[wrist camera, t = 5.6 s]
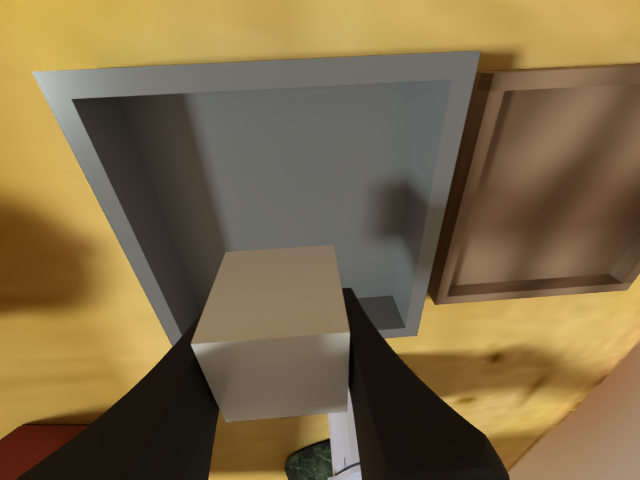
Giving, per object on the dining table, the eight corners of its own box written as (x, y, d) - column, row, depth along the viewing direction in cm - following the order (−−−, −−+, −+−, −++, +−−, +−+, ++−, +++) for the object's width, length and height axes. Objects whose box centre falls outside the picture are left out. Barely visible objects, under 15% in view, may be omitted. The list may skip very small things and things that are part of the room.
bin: (440, 52, 15) (481, 50, 12) (400, 298, 25) (416, 335, 21) (93, 68, 14) (31, 71, 11) (193, 313, 24) (176, 354, 21)
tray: (748, 58, 16) (800, 57, 14) (604, 274, 25) (627, 290, 23) (473, 71, 16) (494, 73, 14) (425, 287, 24) (435, 304, 23)
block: (333, 245, 12) (349, 332, 8) (334, 318, 14) (347, 412, 10) (225, 251, 12) (190, 344, 8) (245, 325, 14) (225, 422, 10)
